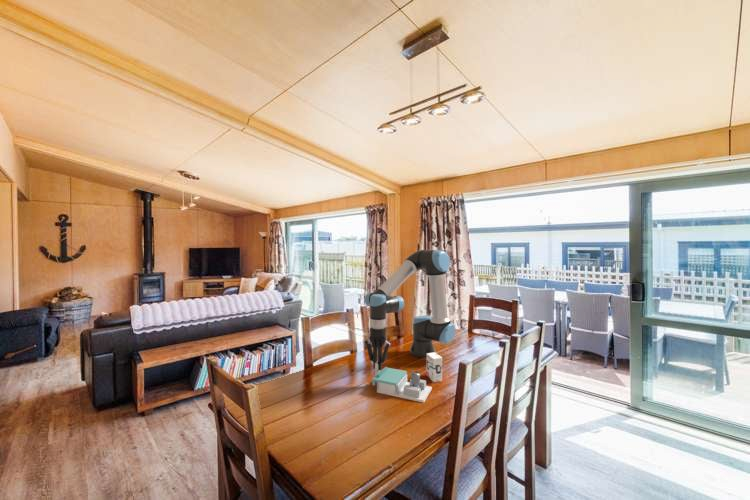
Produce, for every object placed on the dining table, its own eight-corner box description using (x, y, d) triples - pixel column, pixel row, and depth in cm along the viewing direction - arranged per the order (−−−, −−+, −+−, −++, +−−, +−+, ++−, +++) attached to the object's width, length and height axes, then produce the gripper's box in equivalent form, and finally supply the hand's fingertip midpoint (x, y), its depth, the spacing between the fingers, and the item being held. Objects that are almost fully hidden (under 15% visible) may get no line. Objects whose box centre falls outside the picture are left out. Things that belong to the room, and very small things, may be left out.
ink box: (425, 375, 162) (425, 352, 162) (434, 374, 164) (434, 351, 163) (433, 382, 154) (433, 358, 154) (442, 381, 156) (442, 357, 155)
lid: (384, 373, 157) (384, 364, 157) (406, 377, 153) (407, 368, 152) (372, 385, 144) (372, 376, 144) (396, 390, 139) (396, 380, 139)
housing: (388, 380, 156) (388, 370, 156) (431, 388, 147) (432, 378, 147) (376, 392, 144) (376, 381, 143) (423, 402, 134) (423, 391, 134)
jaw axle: (412, 390, 146) (412, 370, 146) (420, 391, 144) (420, 372, 144) (409, 393, 142) (409, 374, 142) (418, 395, 141) (418, 375, 141)
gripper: (362, 327, 150) (361, 376, 150) (387, 330, 144) (387, 381, 145) (368, 323, 157) (368, 370, 157) (393, 326, 151) (393, 375, 152)
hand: (377, 375), depth 151 cm, fingers closed
